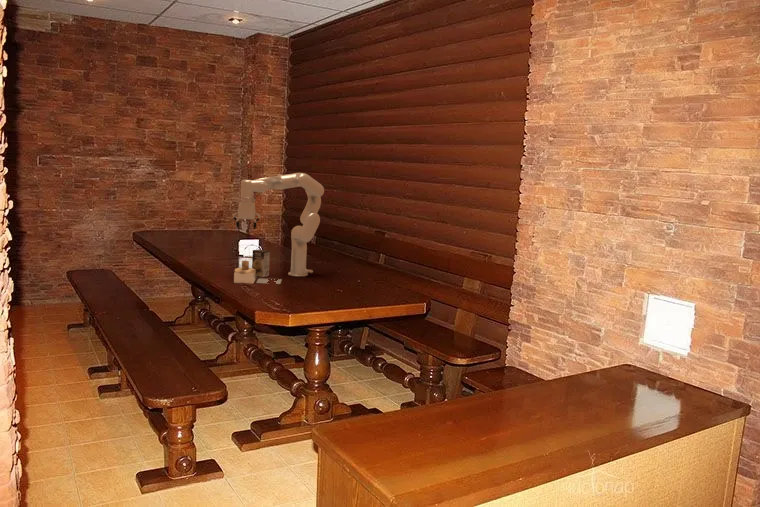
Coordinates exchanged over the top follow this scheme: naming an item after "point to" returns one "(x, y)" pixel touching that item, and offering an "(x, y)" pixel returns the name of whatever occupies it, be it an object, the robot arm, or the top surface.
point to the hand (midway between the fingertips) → (246, 228)
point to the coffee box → (261, 262)
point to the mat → (268, 280)
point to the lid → (245, 268)
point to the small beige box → (244, 278)
